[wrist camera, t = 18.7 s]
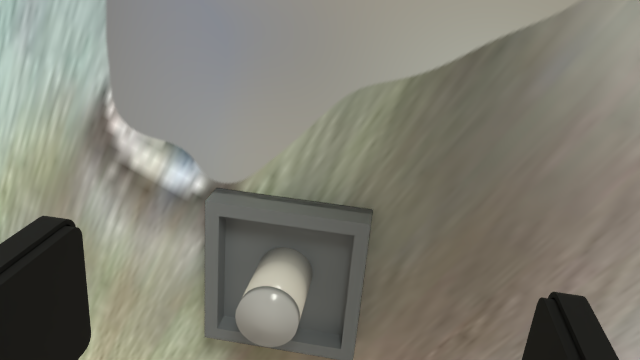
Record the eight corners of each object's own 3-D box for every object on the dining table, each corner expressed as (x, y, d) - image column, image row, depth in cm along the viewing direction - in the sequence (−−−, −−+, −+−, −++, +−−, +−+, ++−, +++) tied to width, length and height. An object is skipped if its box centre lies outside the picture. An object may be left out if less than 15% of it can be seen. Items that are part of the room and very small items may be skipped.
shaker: (312, 249, 49) (297, 295, 42) (312, 297, 50) (298, 350, 43) (257, 245, 49) (233, 290, 42) (259, 293, 51) (236, 343, 44)
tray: (372, 209, 47) (370, 224, 45) (355, 341, 53) (352, 362, 50) (216, 187, 49) (205, 201, 46) (215, 318, 54) (204, 336, 51)
